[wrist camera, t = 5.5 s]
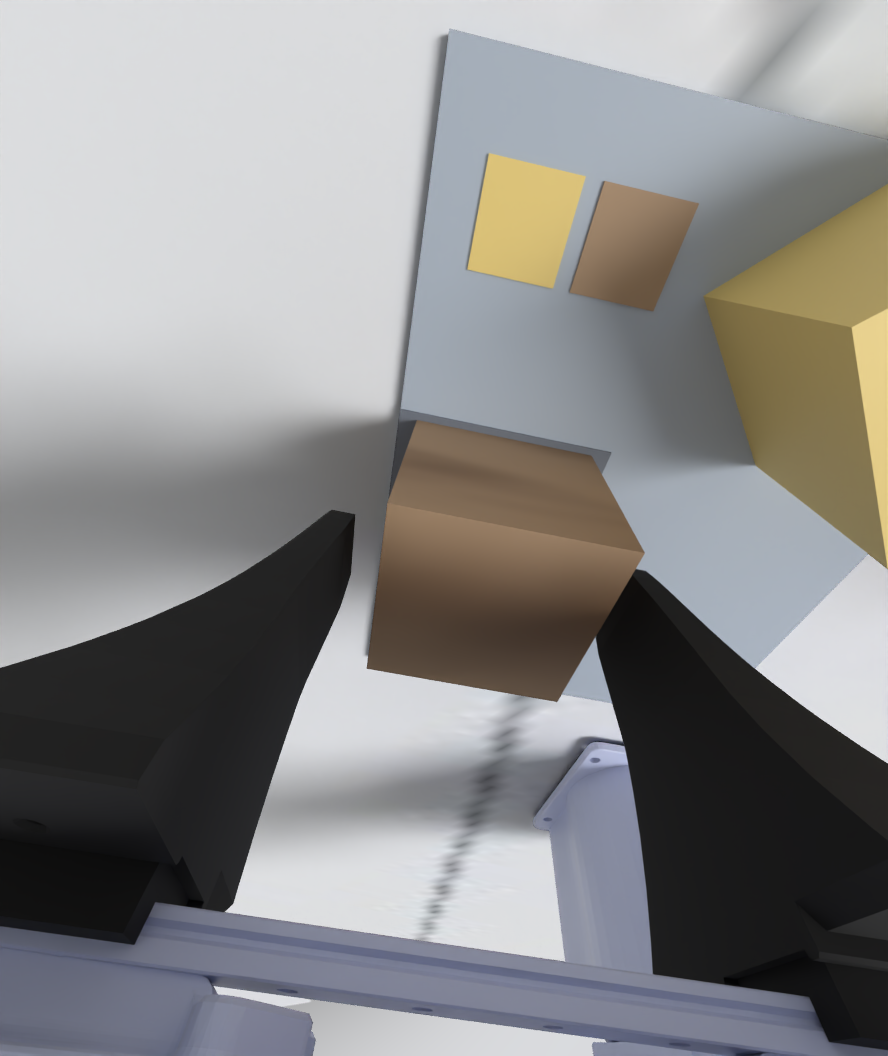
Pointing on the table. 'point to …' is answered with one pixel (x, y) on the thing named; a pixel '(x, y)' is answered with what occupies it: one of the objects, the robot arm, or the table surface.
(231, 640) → the robot arm
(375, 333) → the table surface
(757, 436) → the mustard block
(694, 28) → the table surface
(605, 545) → the walnut block
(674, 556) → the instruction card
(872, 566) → the table surface
